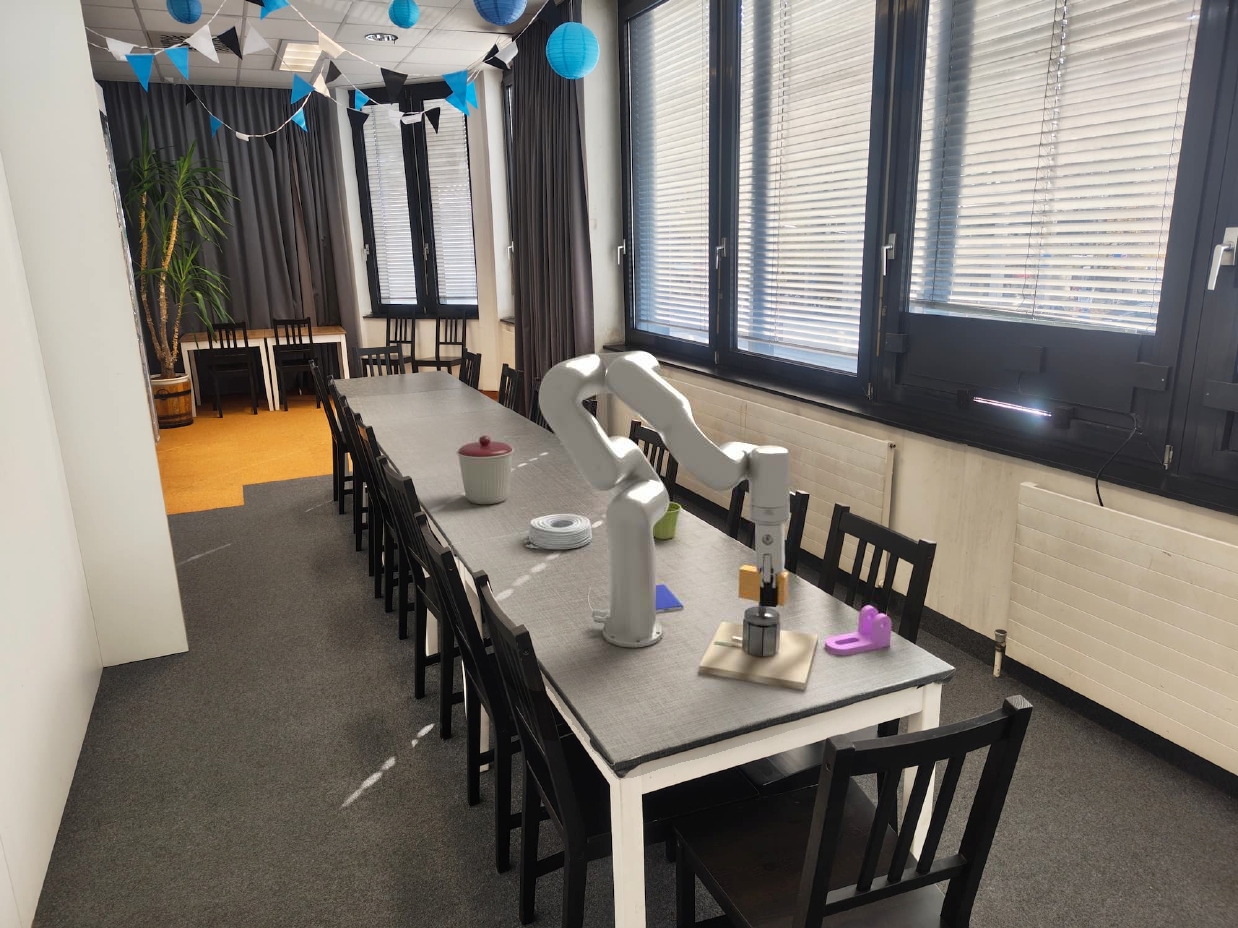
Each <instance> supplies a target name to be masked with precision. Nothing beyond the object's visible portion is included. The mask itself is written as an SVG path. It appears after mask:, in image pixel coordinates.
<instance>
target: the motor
mask: <svg viewBox="0 0 1238 928" xmlns="http://www.w3.org/2000/svg"><path fill="white" fill-rule="evenodd" d="M763 571H764V569H763ZM771 571H774V570H771ZM789 575H790V573H789V571H788V572H786V571H783V573H782V574H781V575H779V574H776V587H777V606H780V607H784V606H785V605H786V604H787V603H788V594H789V593H788V592H789V589H788V588H789ZM738 578H739V579H738V598H739V599H745V600H749V601H755V602H758V606H751V607H748V608H747V609H745V610H744V612H743V613H744V614H743V618H742V625H743V636H742V638H740V637H735V636H733V637H732V642H737V643H741V644H742V648H743V649H744V650H745V651H746V652H747V653H749V654H753V655H757V656H769V655H774V654H776V653H777V651H778V650H779V643H780V630H781V624H782V623H781V619H780V618H781V617H780V616H781V614H780V612H779V611H778V610H776V609H774V608H773V607H763V606H760V586H761V572H760V574H759V573H758V572H757V566H753V565H752V566H751V565H746V564H743V565H742V566H740V568H739V577H738ZM771 578H772V579H773V576H771Z"/></svg>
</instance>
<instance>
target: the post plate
mask: <svg viewBox="0 0 1238 928" xmlns="http://www.w3.org/2000/svg"><path fill="white" fill-rule="evenodd" d="M733 636H735V637H740V638H742V636H743V623H742V624H741V623H734V622H728V621H722V622H721V623H720V625H719V627H718V629H717V631H716V632H715V634H714V636H713V638H712V640H711V642H710V644H709V646H708V647H707V649H706V651H705V652H704V655H703V657H702V658H701V661H700V662H699V665H698V673H700V674H705V675H709V676H710V675H711V676H717V677H723V678H730V679H734V680H735V679H736V680H742V681H748V682H753V683H758V684H765V685H771V686H777V687H782V688H790V689H795V690H800V691H805V690H806V688H807V684H808V680H809V677H810V676H809V675H810V672H811V668H812V665H813V662H814V656H815V653H816V649H817V645H818V640H819V639H818V638H819V636H818V635H817V634H810V633H803V632H796V631H790V630H783V629H780V643H779V650H778V651H777V653H776V654H774V655H769V656H757V655H753V654H749V653H747V652H746V651H745V650H744V649H743V648H742V644H741V643H737V642H732V637H733Z"/></svg>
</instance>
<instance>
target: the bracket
mask: <svg viewBox="0 0 1238 928" xmlns="http://www.w3.org/2000/svg"><path fill="white" fill-rule="evenodd" d="M858 616H859V617H858V626H857V627H858V628H857V631H854V632H848V633H843V634H840V635H839V634H838V635H833V636H830V637H827V638H826V639H825V640H824V641H825V642H824V648H825V650H826V651H827V652H829V653H831V654H834V655H838V656H848V655H851V654H852V655H853V654H856V653H857V654H858V653H862V652H867V651H870V650H875V649H881V648H885V647H886V648H887V647H890V646H891V635H892V624H893V623H892V622H893V621H892V619H891V618H890V616H888V615H887V614H885V613H882V612H881V613H879V611H878V609H877V608H875V607H874V606H872V605H870V604H868V605H865V606H864V607H862V608H861V609H860V612H859V615H858Z"/></svg>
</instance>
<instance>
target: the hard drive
mask: <svg viewBox="0 0 1238 928" xmlns="http://www.w3.org/2000/svg"><path fill="white" fill-rule="evenodd" d="M684 608H685V606H684V605H683V604H682V603H681V602H680V600H678V598H677V597H676V596H675V594H673V593H672V591H671V590H670V588H668V586H667V585H666V584H663V583H662V584H656V614H657V613H658V614H659V613H665V612H673V611H679V610H680V611H681V610H684Z"/></svg>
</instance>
